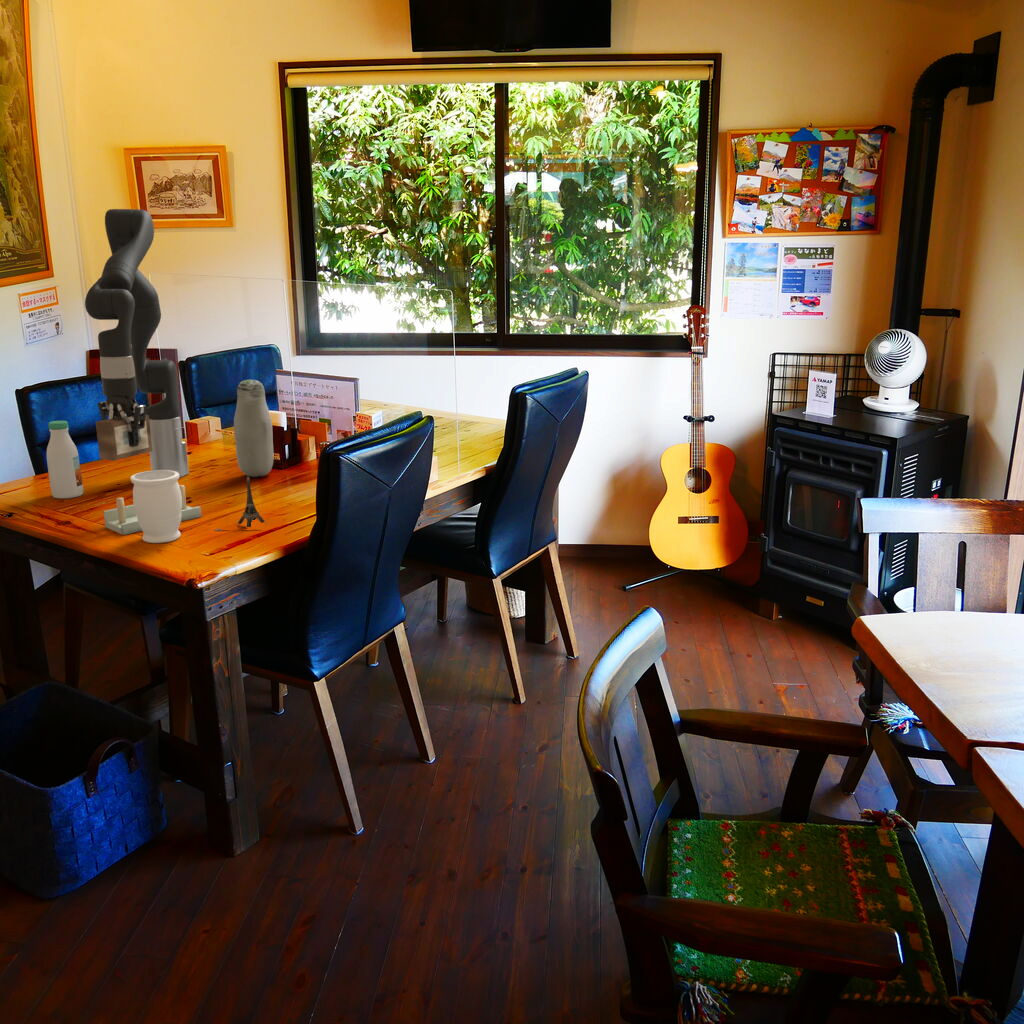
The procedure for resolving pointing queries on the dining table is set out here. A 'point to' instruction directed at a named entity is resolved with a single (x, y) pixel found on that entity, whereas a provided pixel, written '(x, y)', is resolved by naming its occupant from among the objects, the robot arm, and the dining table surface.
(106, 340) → the robot arm
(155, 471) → the jar
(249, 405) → the grey bottle
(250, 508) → the eiffel tower figurine
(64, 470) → the milk bottle
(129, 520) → the ledge
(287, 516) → the dining table surface
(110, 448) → the wooden block
